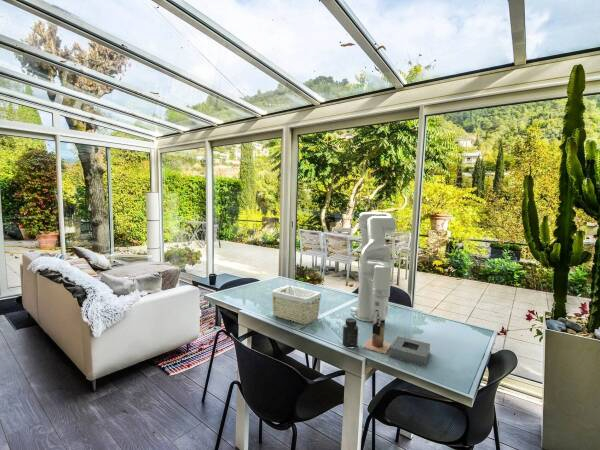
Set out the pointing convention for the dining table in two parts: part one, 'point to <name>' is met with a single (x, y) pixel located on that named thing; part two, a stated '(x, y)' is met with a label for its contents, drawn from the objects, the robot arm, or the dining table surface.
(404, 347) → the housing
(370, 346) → the tile
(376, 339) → the brown cylinder
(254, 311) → the dining table surface
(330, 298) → the dining table surface
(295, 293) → the storage basket
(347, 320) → the supplement bottle
